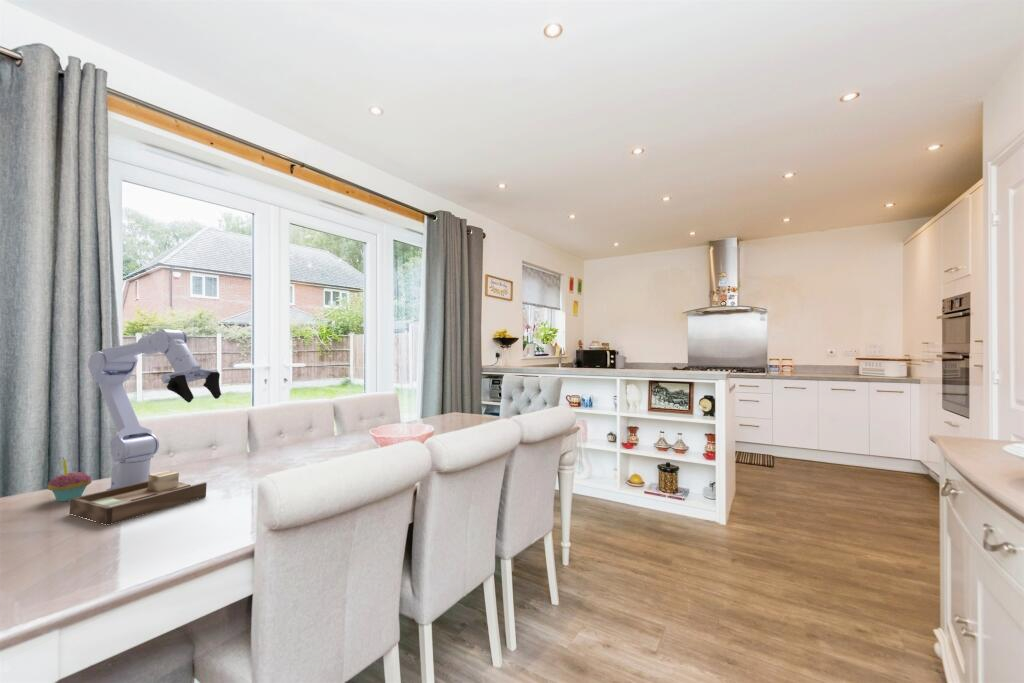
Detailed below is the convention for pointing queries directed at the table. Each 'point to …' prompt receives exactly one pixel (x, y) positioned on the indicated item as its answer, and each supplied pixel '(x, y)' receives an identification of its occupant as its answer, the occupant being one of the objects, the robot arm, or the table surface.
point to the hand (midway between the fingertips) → (205, 398)
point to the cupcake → (69, 484)
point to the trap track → (132, 501)
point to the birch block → (163, 480)
